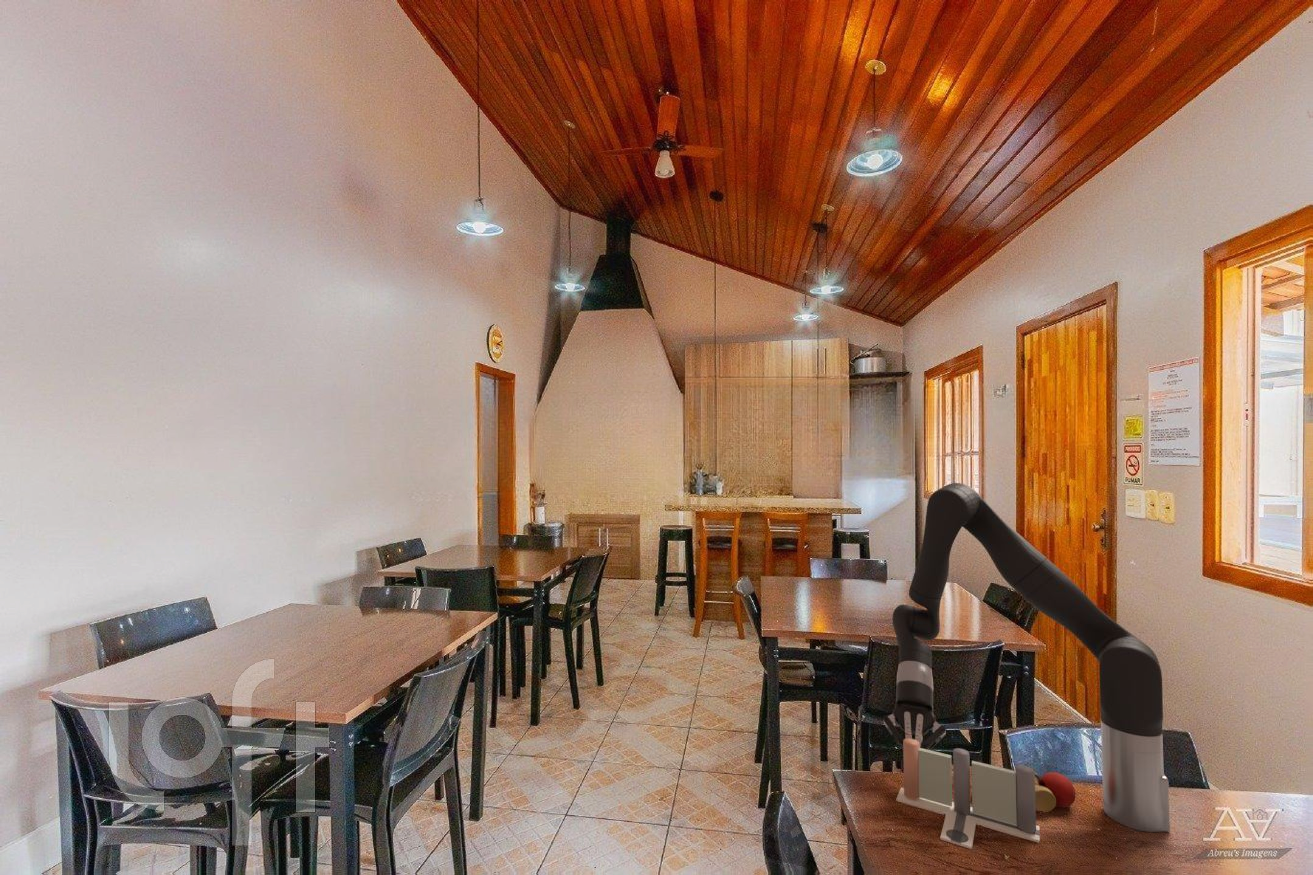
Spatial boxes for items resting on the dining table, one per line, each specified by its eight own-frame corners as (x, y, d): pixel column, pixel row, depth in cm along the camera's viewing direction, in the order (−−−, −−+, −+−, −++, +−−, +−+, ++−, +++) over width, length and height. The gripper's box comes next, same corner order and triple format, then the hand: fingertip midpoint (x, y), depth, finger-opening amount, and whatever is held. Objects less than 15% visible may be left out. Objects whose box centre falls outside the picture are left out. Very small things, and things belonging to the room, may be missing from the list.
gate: (952, 802, 116) (951, 748, 117) (950, 809, 114) (950, 754, 114) (905, 788, 121) (904, 737, 121) (902, 795, 118) (901, 742, 119)
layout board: (1039, 828, 109) (1039, 825, 109) (1040, 870, 98) (1040, 867, 98) (901, 789, 122) (901, 786, 122) (887, 822, 111) (887, 820, 111)
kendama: (989, 820, 114) (1088, 813, 112) (981, 784, 116) (1079, 776, 114) (974, 804, 122) (1067, 798, 120) (967, 771, 123) (1058, 763, 121)
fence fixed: (1036, 827, 109) (1034, 765, 109) (1036, 836, 106) (1034, 772, 107) (955, 804, 116) (954, 746, 116) (953, 812, 113) (952, 753, 114)
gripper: (881, 674, 133) (877, 753, 121) (947, 684, 127) (948, 768, 116) (884, 690, 138) (879, 768, 126) (947, 700, 132) (949, 783, 120)
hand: (913, 768), depth 121 cm, fingers closed
